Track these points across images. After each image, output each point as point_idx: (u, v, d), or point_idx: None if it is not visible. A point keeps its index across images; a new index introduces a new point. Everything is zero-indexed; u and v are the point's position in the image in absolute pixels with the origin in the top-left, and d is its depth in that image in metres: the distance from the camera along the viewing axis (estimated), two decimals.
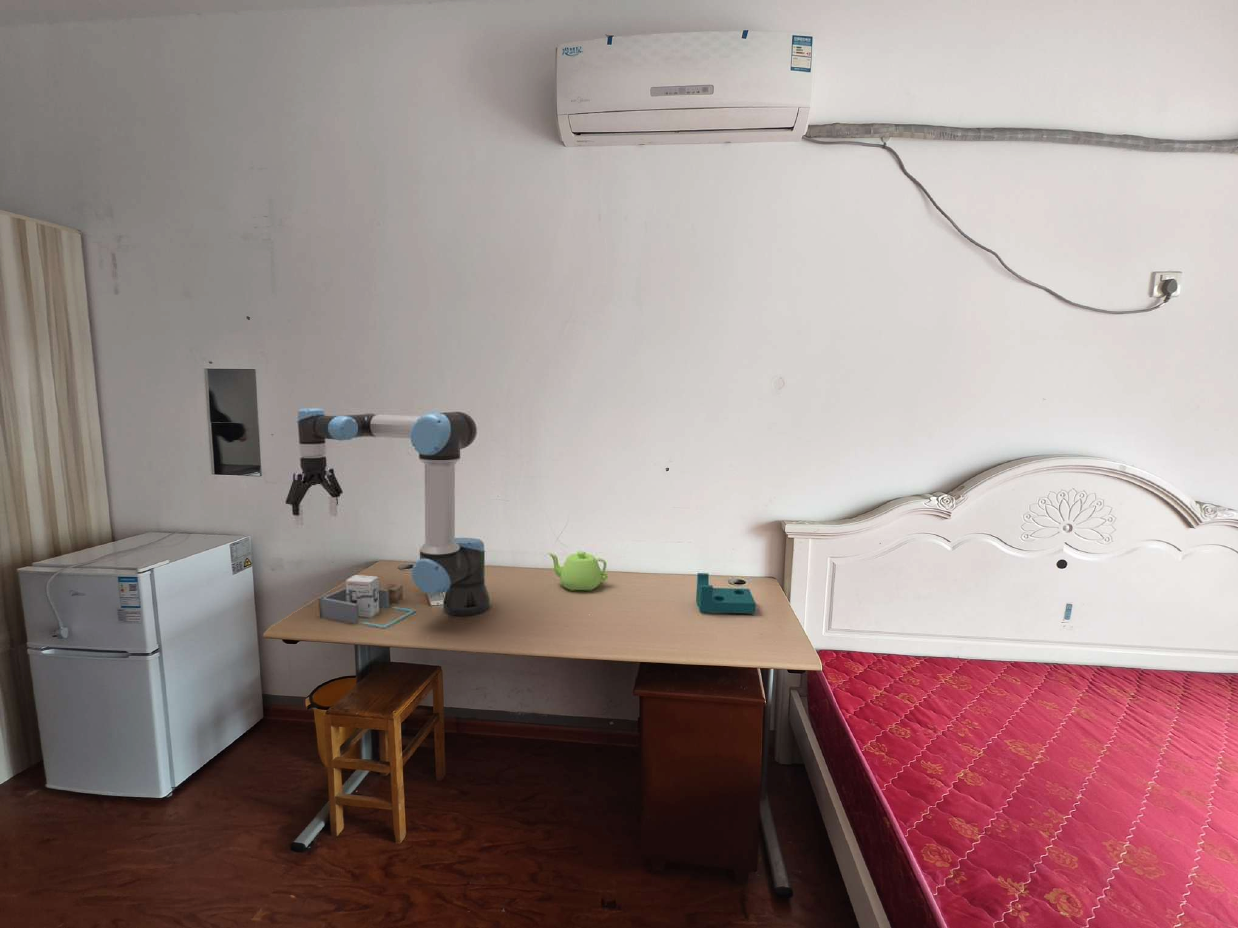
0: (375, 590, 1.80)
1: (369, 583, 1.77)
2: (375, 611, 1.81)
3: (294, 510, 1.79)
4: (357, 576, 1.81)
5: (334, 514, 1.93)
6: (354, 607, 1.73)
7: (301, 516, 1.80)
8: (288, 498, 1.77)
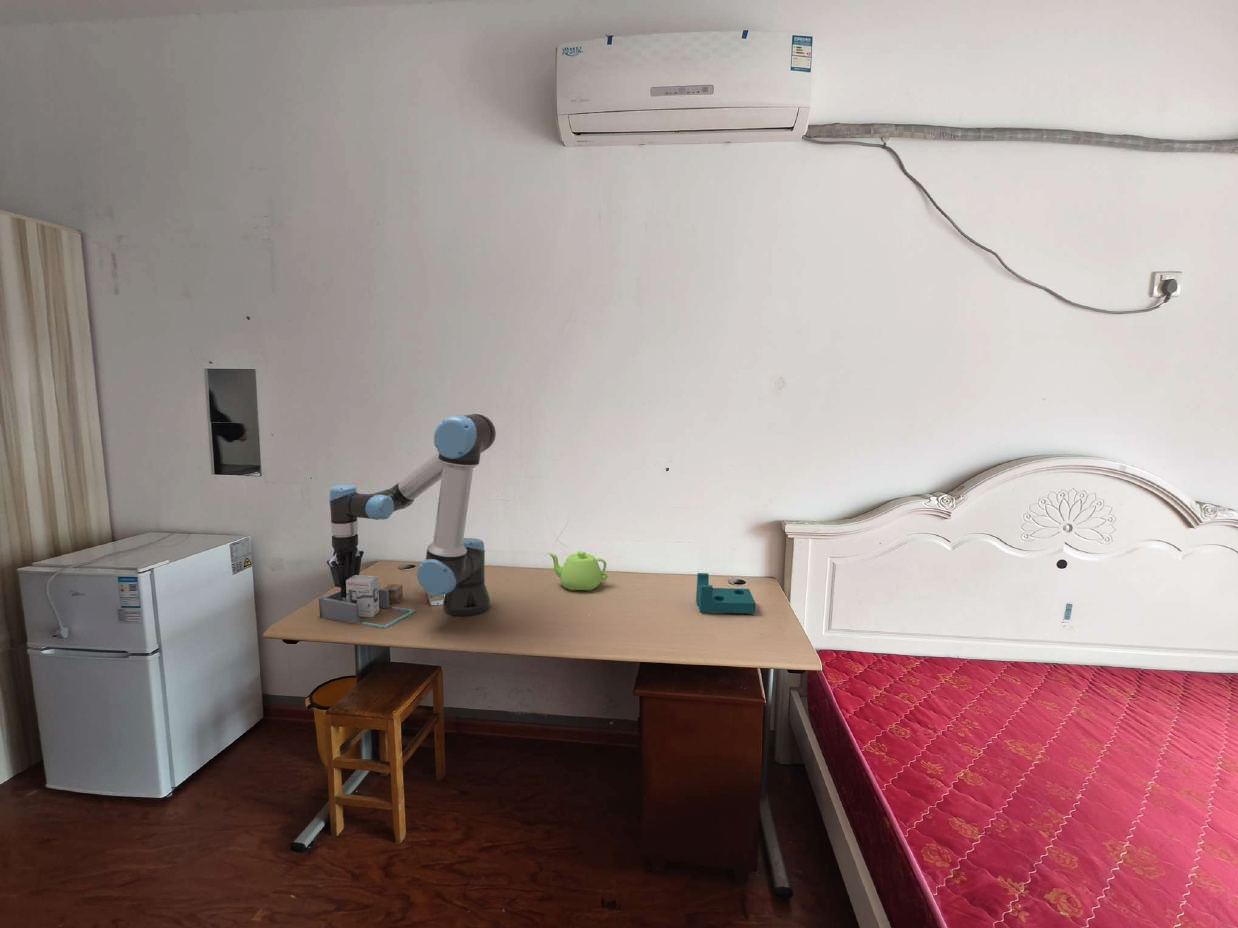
0: (375, 590, 1.80)
1: (369, 583, 1.77)
2: (375, 611, 1.81)
3: (343, 592, 1.80)
4: (357, 576, 1.81)
5: None
6: (354, 607, 1.73)
7: None
8: (335, 583, 1.78)
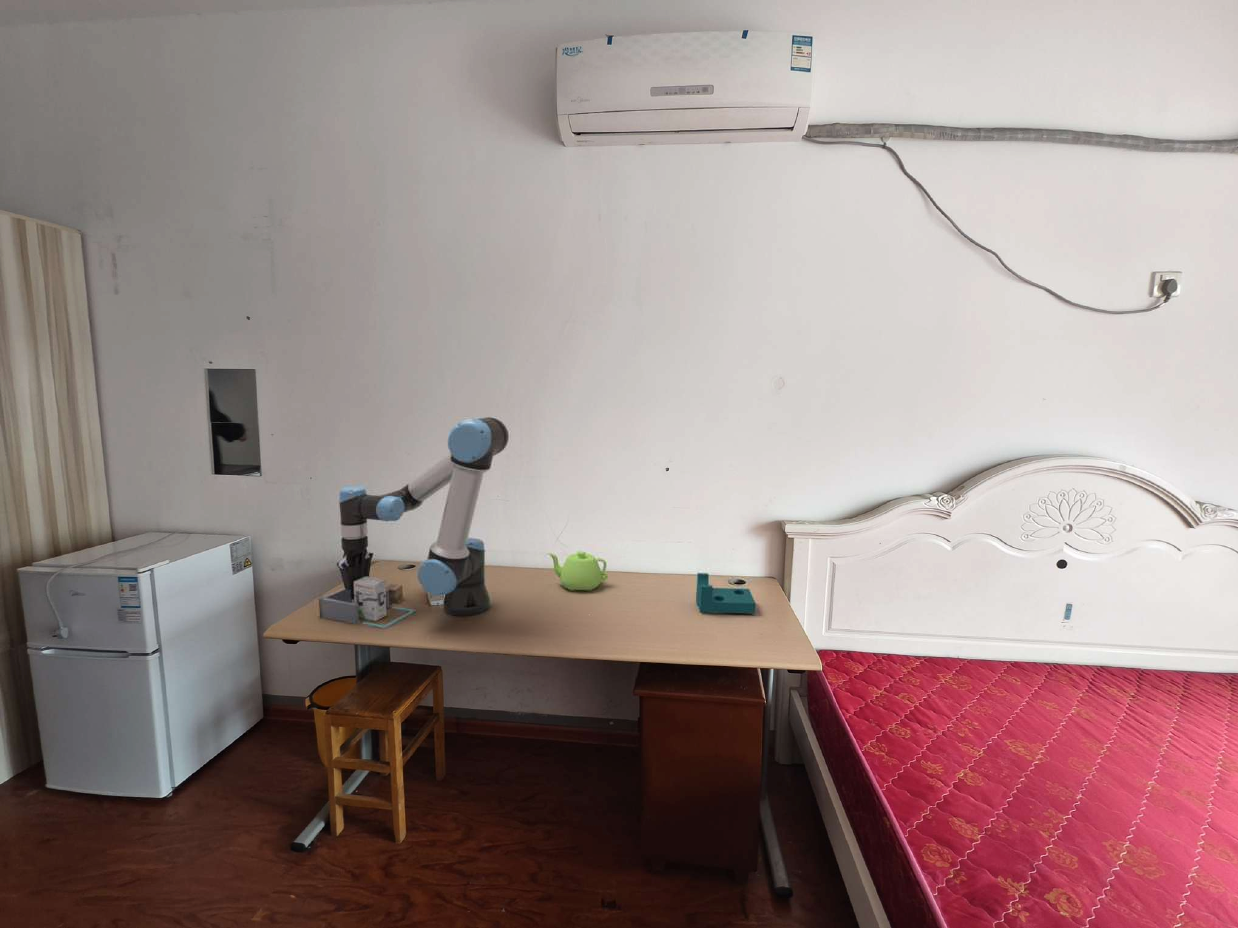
0: (381, 594, 1.77)
1: (373, 586, 1.74)
2: (380, 615, 1.78)
3: (353, 595, 1.79)
4: (366, 577, 1.80)
5: None
6: (354, 607, 1.73)
7: None
8: (345, 585, 1.77)
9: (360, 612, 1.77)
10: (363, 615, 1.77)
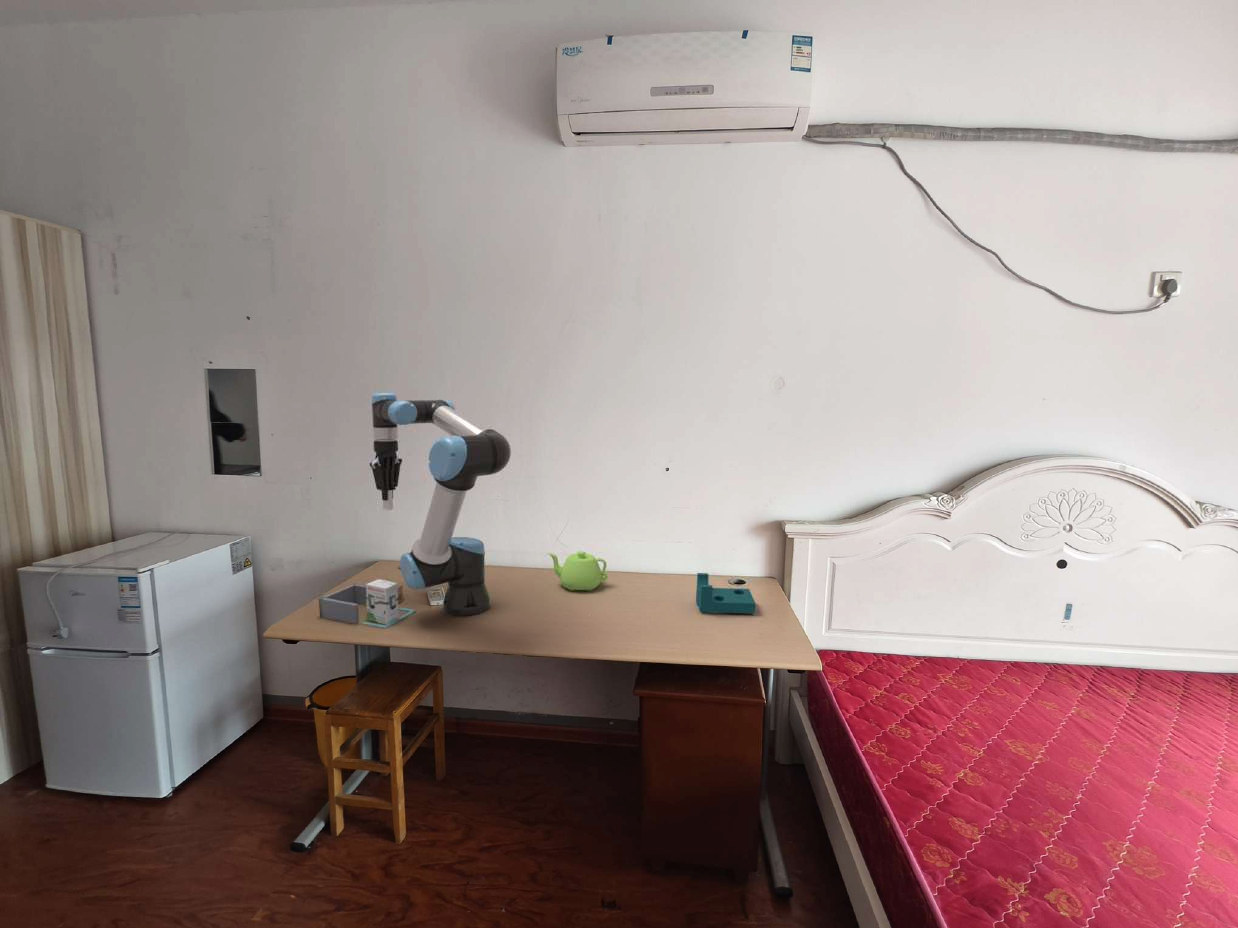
0: (392, 597, 1.74)
1: (384, 589, 1.72)
2: (392, 619, 1.75)
3: (384, 495, 1.90)
4: (379, 580, 1.78)
5: None
6: (354, 607, 1.73)
7: (390, 501, 1.92)
8: (377, 485, 1.88)
9: (372, 615, 1.75)
10: (374, 619, 1.75)
